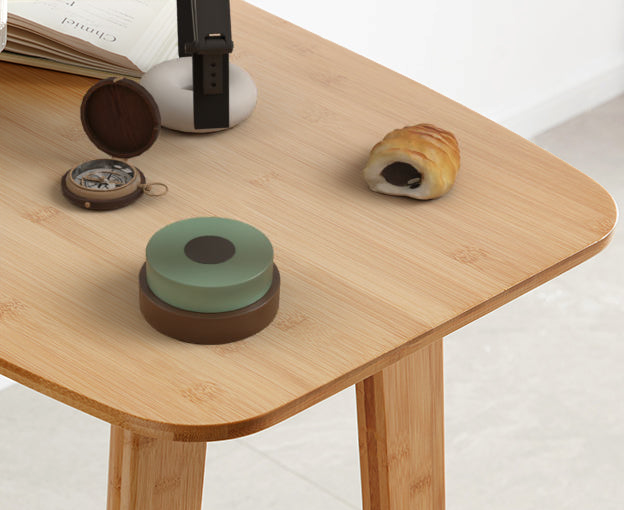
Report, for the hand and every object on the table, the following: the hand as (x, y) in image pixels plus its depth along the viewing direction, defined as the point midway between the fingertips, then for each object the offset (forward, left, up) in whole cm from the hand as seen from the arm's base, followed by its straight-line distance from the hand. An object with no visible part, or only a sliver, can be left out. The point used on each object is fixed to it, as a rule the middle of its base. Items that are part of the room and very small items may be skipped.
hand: (202, 89), depth 94 cm
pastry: (+12, +15, -2) cm, 19 cm away
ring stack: (+27, -2, -2) cm, 27 cm away
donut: (0, 0, -2) cm, 2 cm away
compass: (+12, -7, -2) cm, 14 cm away
